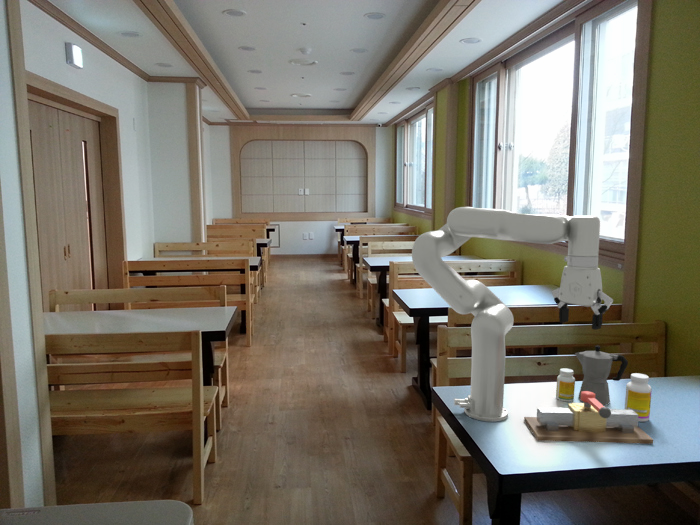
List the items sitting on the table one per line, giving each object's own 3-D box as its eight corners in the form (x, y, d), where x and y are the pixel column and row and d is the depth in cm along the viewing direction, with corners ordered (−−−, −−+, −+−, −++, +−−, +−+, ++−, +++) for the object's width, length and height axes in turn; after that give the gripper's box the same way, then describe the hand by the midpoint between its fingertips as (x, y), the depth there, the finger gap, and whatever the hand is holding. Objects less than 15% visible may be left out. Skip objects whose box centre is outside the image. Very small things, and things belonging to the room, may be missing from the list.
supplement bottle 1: (552, 396, 179) (554, 367, 178) (567, 395, 180) (569, 367, 179) (562, 402, 174) (564, 373, 172) (577, 401, 175) (579, 372, 174)
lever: (578, 403, 153) (579, 389, 153) (591, 404, 153) (592, 389, 152) (599, 424, 139) (600, 409, 138) (613, 425, 139) (615, 409, 138)
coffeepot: (571, 402, 174) (575, 346, 172) (571, 392, 183) (575, 339, 180) (626, 410, 168) (630, 352, 166) (623, 399, 177) (627, 345, 175)
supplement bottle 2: (652, 423, 158) (656, 380, 157) (627, 421, 160) (630, 378, 158) (645, 414, 165) (648, 373, 163) (621, 412, 166) (624, 371, 165)
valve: (541, 433, 149) (543, 410, 149) (534, 423, 156) (535, 401, 155) (639, 436, 148) (641, 413, 148) (628, 426, 155) (629, 404, 154)
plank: (537, 440, 146) (538, 436, 146) (524, 420, 159) (524, 416, 159) (652, 443, 145) (653, 439, 145) (629, 423, 158) (630, 419, 158)
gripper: (545, 260, 152) (543, 321, 153) (605, 266, 137) (602, 333, 139) (562, 258, 156) (559, 318, 158) (621, 264, 142) (618, 329, 144)
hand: (579, 325), depth 149 cm, fingers open, 9 cm apart
